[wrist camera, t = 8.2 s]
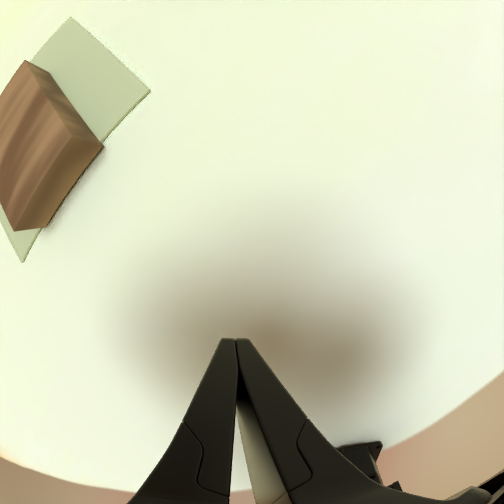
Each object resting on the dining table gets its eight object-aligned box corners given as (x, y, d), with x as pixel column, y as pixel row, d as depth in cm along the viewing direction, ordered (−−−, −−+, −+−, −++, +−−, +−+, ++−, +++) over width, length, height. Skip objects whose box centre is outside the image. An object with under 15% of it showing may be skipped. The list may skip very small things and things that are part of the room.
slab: (72, 136, 14) (24, 59, 13) (13, 231, 15) (-23, 137, 14) (103, 146, 18) (49, 72, 17) (45, 227, 19) (2, 141, 18)
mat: (151, 90, 17) (149, 89, 17) (23, 262, 20) (21, 262, 20) (71, 17, 16) (70, 16, 16) (-23, 153, 19) (-25, 153, 18)
